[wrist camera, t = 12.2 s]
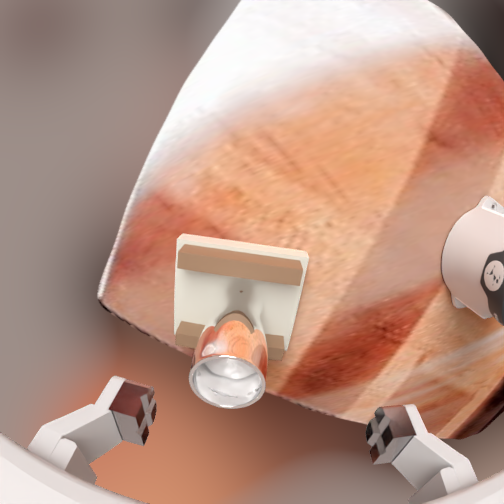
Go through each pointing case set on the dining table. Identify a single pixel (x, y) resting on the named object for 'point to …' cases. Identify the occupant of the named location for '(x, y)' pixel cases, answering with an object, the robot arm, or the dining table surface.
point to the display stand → (231, 270)
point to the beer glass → (232, 350)
